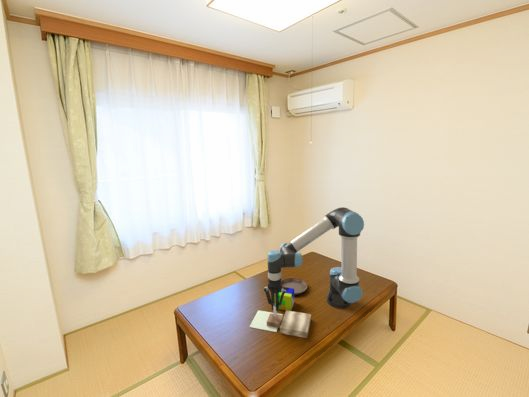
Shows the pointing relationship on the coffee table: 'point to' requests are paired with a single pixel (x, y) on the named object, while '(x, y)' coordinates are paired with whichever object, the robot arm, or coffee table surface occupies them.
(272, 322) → the walnut tile
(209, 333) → the coffee table surface
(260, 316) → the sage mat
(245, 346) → the coffee table surface
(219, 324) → the coffee table surface
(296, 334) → the plate
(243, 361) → the coffee table surface
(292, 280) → the plant saucer
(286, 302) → the puzzle toy
